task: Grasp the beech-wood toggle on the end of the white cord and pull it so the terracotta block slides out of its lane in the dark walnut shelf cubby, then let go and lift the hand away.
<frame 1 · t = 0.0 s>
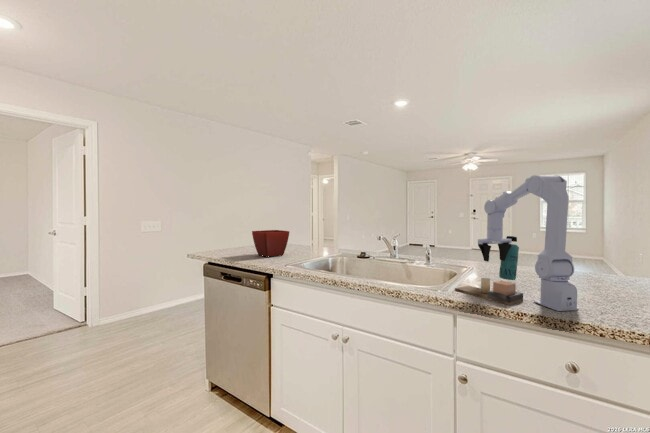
hand: (494, 260, 130), 10 cm above the worktop, tool pointing down, fingers open, 7 cm apart
beverage bottle: (507, 282, 133), on the worktop
clay block: (495, 287, 111), point 4 cm above the worktop, slide at 0.0 cm
lane shelf: (504, 299, 109), on the worktop
plant pot: (270, 255, 209), on the worktop
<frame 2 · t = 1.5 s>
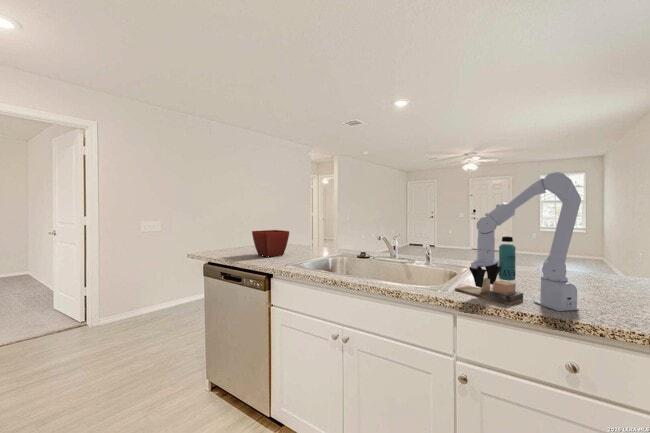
hand: (485, 285, 115), 4 cm above the worktop, tool pointing down, fingers open, 7 cm apart
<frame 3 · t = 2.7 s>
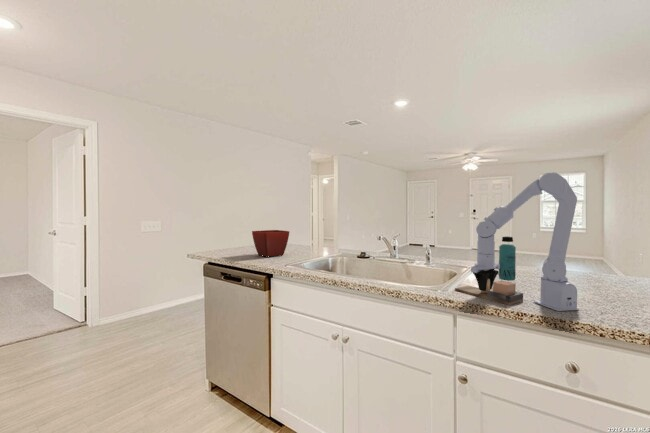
hand: (485, 289, 115), 2 cm above the worktop, tool pointing down, fingers closed on clay block, 3 cm apart
clay block: (495, 287, 111), point 4 cm above the worktop, slide at 0.0 cm, touching gripper
everything else where it was.
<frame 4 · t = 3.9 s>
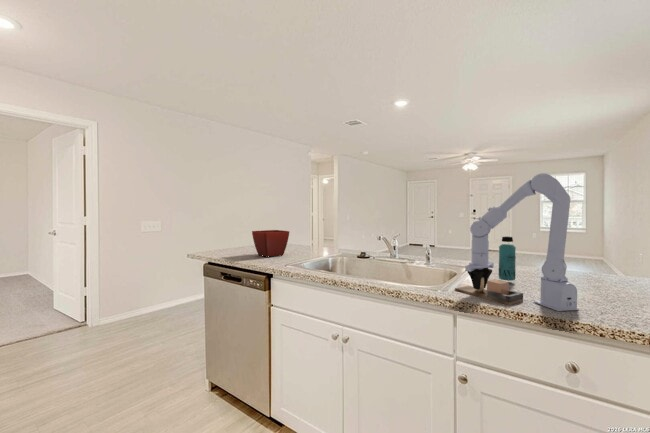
hand: (479, 288, 117), 2 cm above the worktop, tool pointing down, fingers closed on clay block, 3 cm apart
clay block: (489, 286, 113), point 4 cm above the worktop, slide at 2.3 cm, touching gripper
everything else where it was.
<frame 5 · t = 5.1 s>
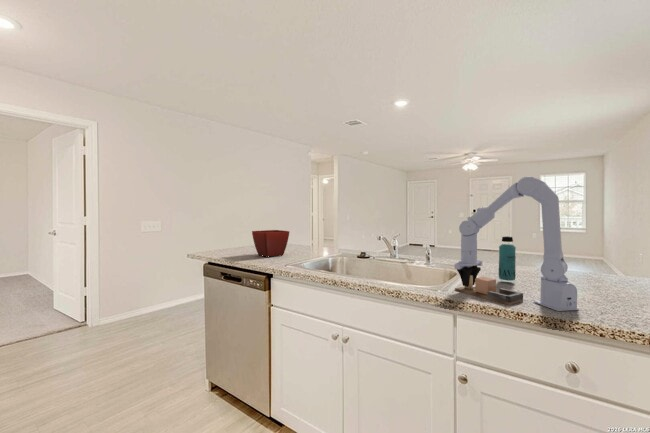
hand: (468, 285, 121), 2 cm above the worktop, tool pointing down, fingers closed on clay block, 3 cm apart
clay block: (478, 283, 118), point 4 cm above the worktop, slide at 7.0 cm, touching gripper
everything else where it was.
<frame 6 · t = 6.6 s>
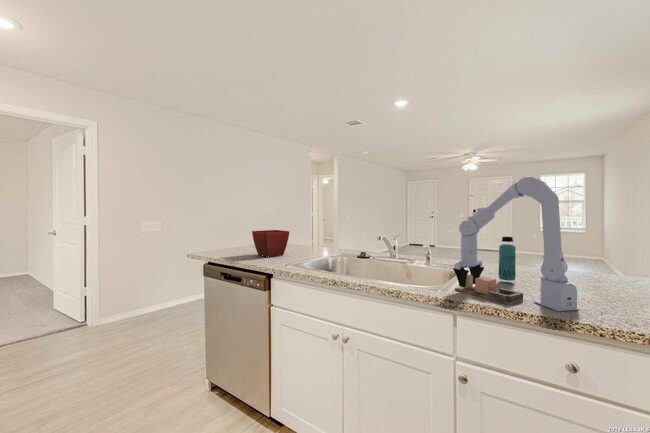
hand: (468, 285, 121), 2 cm above the worktop, tool pointing down, fingers open, 7 cm apart
clay block: (478, 283, 118), point 4 cm above the worktop, slide at 7.0 cm
everything else where it was.
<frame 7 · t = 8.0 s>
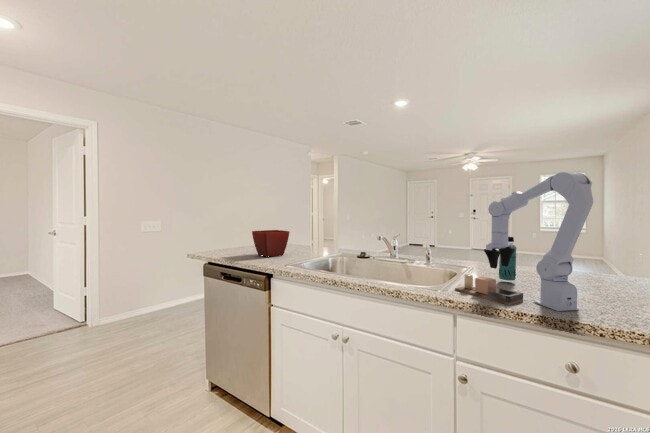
hand: (499, 267, 120), 9 cm above the worktop, tool pointing down, fingers open, 7 cm apart
nothing on the worktop moved.
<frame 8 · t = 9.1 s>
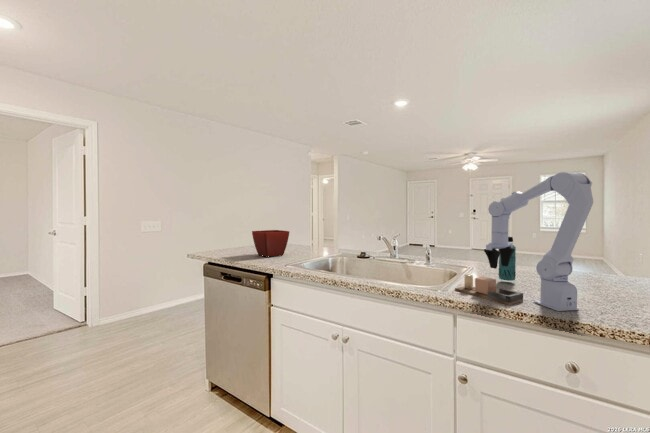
hand: (499, 267, 120), 9 cm above the worktop, tool pointing down, fingers open, 7 cm apart
nothing on the worktop moved.
at the end: clay block slide at 7.0 cm; the gripper is holding nothing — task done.
